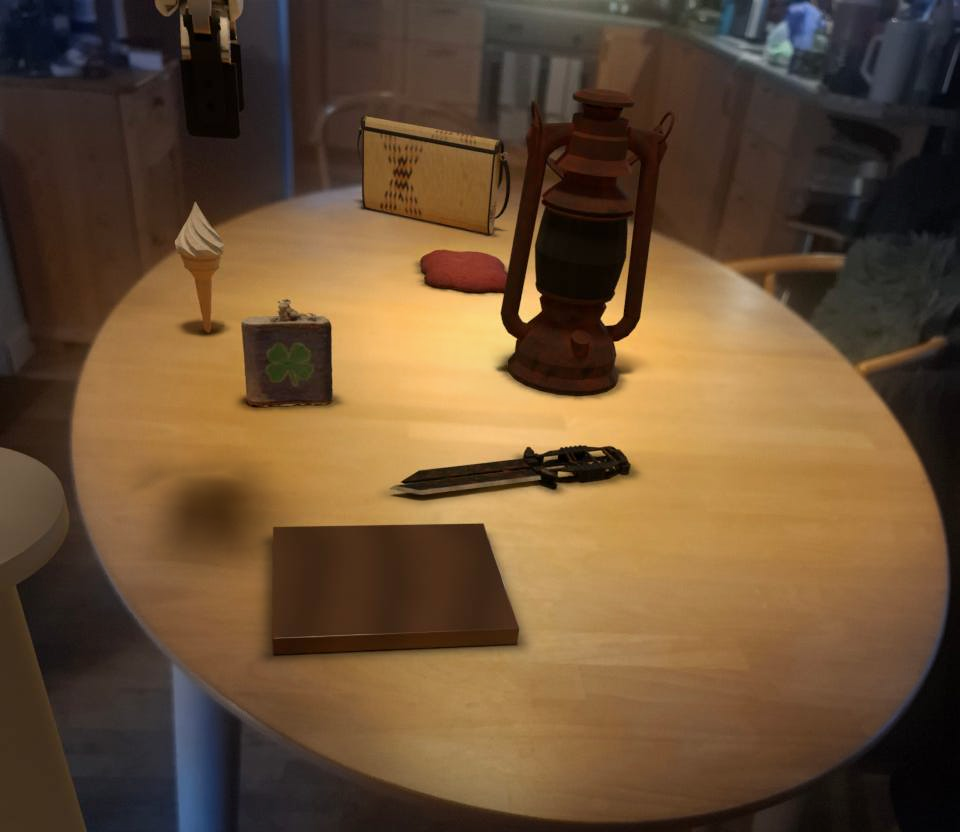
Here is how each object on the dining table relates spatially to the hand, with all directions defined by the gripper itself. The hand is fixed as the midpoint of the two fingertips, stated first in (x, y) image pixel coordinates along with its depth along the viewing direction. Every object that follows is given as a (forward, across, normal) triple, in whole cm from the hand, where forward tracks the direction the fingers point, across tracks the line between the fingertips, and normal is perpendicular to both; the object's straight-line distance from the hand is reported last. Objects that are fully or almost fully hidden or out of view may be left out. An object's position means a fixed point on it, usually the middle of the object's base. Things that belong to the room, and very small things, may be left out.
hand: (218, 122), depth 59 cm
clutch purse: (+31, -104, +30) cm, 112 cm away
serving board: (+30, +12, +11) cm, 34 cm away
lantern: (+31, -33, +37) cm, 58 cm away
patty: (+31, -71, +31) cm, 83 cm away
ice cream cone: (+31, -44, -6) cm, 54 cm away
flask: (+31, -24, +4) cm, 39 cm away
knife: (+31, -6, +25) cm, 40 cm away
